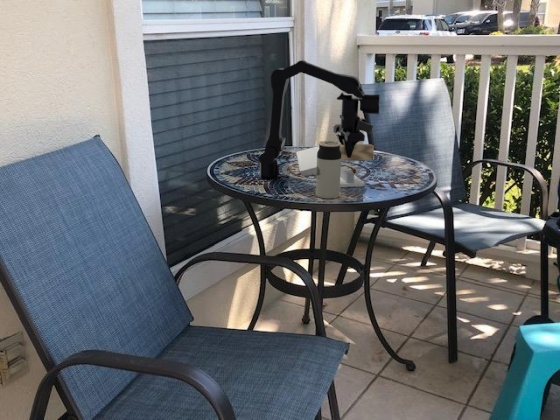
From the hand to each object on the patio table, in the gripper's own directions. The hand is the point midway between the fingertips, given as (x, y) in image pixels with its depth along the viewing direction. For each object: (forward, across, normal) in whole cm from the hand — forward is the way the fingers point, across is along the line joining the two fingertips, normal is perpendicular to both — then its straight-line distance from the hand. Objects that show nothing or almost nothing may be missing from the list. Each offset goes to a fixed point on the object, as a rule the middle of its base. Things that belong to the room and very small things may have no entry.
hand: (347, 156), depth 205 cm
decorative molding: (+11, +28, +6) cm, 30 cm away
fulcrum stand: (+10, 0, 0) cm, 10 cm away
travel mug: (+10, -16, +11) cm, 22 cm away
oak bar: (+1, 0, 0) cm, 1 cm away
